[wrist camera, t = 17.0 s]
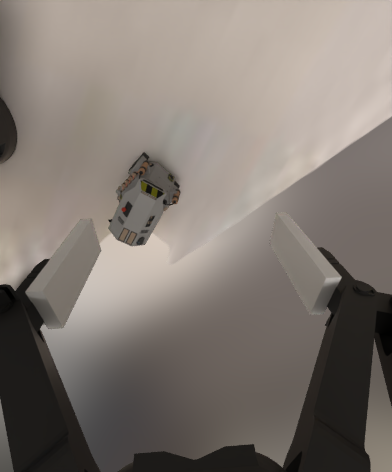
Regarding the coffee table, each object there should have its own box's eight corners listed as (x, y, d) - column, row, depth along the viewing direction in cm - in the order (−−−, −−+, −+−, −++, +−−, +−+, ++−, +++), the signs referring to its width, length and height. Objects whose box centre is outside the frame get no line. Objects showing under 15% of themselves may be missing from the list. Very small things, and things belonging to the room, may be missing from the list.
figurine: (111, 188, 44) (84, 228, 31) (149, 145, 40) (135, 171, 27) (148, 217, 48) (136, 262, 35) (185, 180, 44) (187, 217, 31)
